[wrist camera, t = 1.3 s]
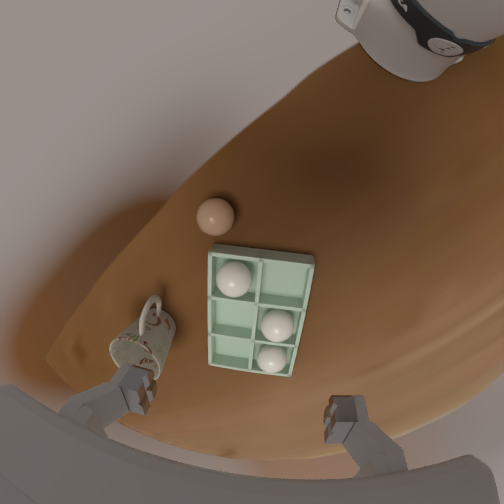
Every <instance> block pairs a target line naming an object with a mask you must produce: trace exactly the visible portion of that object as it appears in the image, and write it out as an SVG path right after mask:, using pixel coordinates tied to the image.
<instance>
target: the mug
mask: <svg viewBox="0 0 504 504" xmlns="http://www.w3.org/2000/svg"><path fill="white" fill-rule="evenodd" d="M153 303H156V306H157V308H152V309H150V307H151V306H152V304H153ZM161 306H162V301H161V299H160V297H159V296H158V295H152V296H151V297H150V298H149V299H148V300H147V302H146V304H145V306H144V308H143V310H142V313H141V316H140V317H139V318H138V319H136V320H135V321H134V322H133V323H132V324H131V325H129V326H128V327H127V328H126V329H125V330H124V331H122V332H121V333H120V334H119V335H118V336H117V337H116V338H115V339H114V340H113V341H112V342H111V344H110V354H111V357H112V359H113V361H114V362H115V364H116V365H117V366H118V367H119V368H120V366H121V365H122V364H123V363H124V362H127V363H130V364H133V365H137V366H140V367H143V368H147V369H150V370H153V371H154V374H155V376H154V378H153V379H154V380H156V379H157V378H158V377H159V376H160V374H161V371H162V369H163V366H164V363H165V360H166V357H167V354H168V351H169V349H170V346H171V343H172V340H173V337H174V335H175V332H176V324H175V322H174V320H173V318H172V317H171V316H170V315H169V314H168V313H167V312H165V311H163V310H161Z"/></svg>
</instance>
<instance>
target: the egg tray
mask: <svg viewBox="0 0 504 504" xmlns="http://www.w3.org/2000/svg"><path fill="white" fill-rule="evenodd" d="M231 261H237V262H241V263H243V264H244V265H246V266H247V267H248V268H249V270H250V272H251V274H252V284H251V287H250V289H249V290H248V291H247V293H245V294H244V295H242V296H240V297H229V296H226V295H224V294H223V293H222V292H221V291H220V290H219V288H218V286H217V283H216V275H217V272H218V270H219V269H220V267H221V266H222V265H224V264H225V263H227V262H231ZM314 267H315V263H314V258H313V255H306V254H298V253H290V252H281V251H273V250H265V249H256V248H248V247H240V246H231V245H223V244H214V245H213V246H212V248H211V249H210V250H209V251H208V361H209V365H212V366H217V367H223V368H229V369H235V370H241V371H248V372H255V373H262V374H270V375H278V376H288V377H291V374H292V370H293V366H294V362H295V358H296V353H297V349H298V345H299V340H300V336H301V332H302V327H303V322H304V318H305V313H306V308H307V303H308V299H309V294H310V288H311V283H312V278H313V273H314ZM274 309H281V310H284V311H286V312H288V313H289V314H290V315H291V316H292V318H293V321H294V330H293V333H292V335H291V336H290V337H289V338H288V339H287V340H285V341H282V342H272V341H270V340H268V339H267V338H265V336H264V335H263V333H262V331H261V321H262V318H263V317H264V315H265V314H266V313H267V312H269V311H271V310H274ZM267 344H269V345H277V346H281V347H282V348H283V349H284V350H285V351H286V353H287V363H286V365H285V367H284V368H283V369H282V370H281V371H279V372H277V373H267V372H264V371H263V370H261V368H260V367H259V366H258V364H257V354H258V352H259V350H260V349H261V348H262V347H263V346H265V345H267Z"/></svg>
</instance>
